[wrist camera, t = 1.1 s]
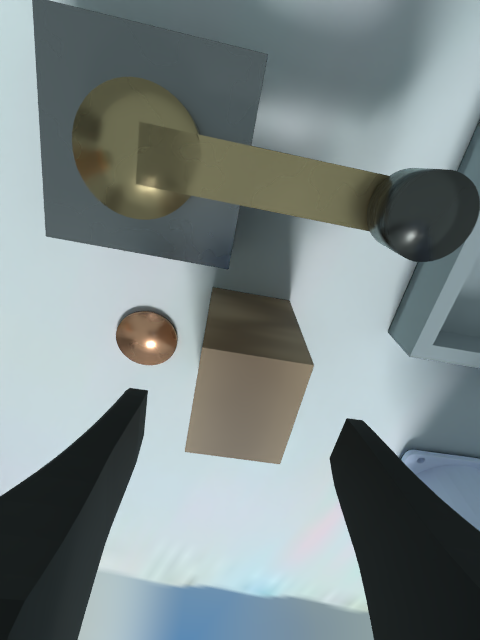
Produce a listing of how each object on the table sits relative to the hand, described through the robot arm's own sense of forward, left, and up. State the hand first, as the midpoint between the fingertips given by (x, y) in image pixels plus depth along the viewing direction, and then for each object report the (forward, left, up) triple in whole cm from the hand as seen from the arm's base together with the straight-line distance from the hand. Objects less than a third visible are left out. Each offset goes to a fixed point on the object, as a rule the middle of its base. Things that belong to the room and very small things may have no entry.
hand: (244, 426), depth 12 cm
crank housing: (+5, -4, -7) cm, 9 cm away
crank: (+1, -8, -4) cm, 9 cm away
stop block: (0, 0, -7) cm, 7 cm away
